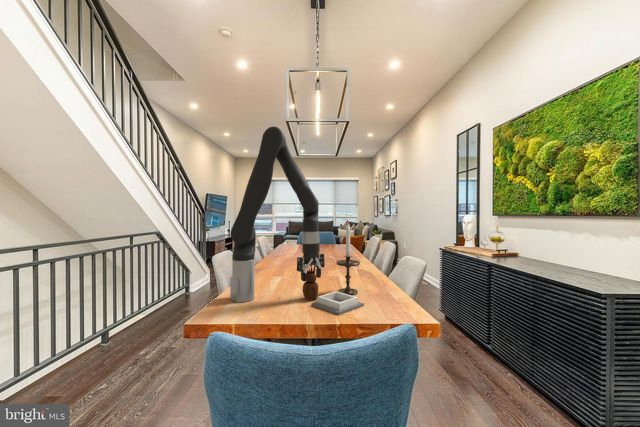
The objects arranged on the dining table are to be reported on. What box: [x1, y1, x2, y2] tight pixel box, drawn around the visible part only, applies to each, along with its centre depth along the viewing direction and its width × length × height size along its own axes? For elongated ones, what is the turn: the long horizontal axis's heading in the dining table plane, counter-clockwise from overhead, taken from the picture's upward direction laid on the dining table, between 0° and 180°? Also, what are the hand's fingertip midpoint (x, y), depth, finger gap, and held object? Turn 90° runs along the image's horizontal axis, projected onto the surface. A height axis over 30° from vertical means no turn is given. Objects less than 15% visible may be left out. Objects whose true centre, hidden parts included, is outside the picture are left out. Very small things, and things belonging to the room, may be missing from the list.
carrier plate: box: [311, 290, 365, 316], centre depth 117 cm, size 15×15×4 cm
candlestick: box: [335, 218, 361, 296], centre depth 135 cm, size 11×11×35 cm
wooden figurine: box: [302, 265, 319, 301], centre depth 125 cm, size 7×6×15 cm
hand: (311, 279), depth 125 cm, fingers open, 8 cm apart
